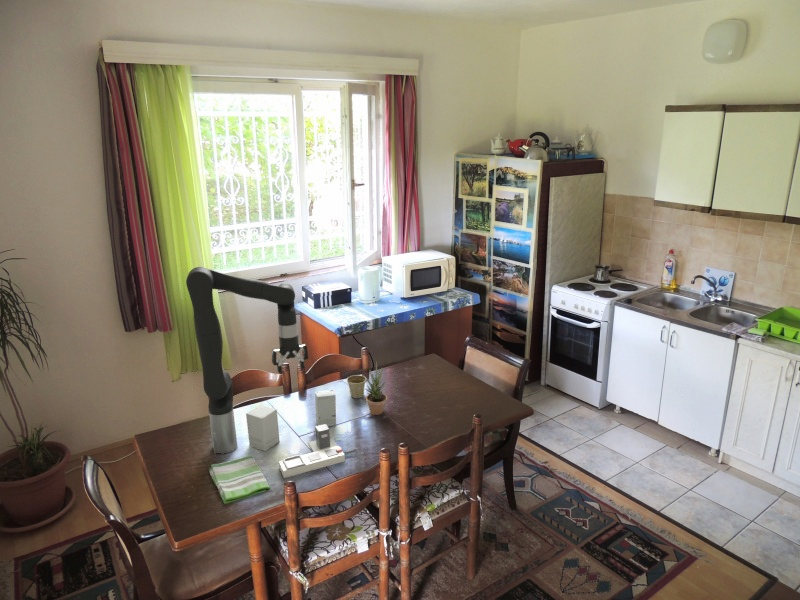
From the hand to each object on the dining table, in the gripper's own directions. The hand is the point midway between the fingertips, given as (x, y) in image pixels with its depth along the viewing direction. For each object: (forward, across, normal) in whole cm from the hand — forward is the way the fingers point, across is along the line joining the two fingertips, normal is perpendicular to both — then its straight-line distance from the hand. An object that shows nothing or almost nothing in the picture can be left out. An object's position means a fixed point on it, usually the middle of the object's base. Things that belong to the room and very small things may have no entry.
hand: (291, 371), depth 228 cm
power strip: (+30, +3, -22) cm, 38 cm away
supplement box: (+30, -13, +1) cm, 33 cm away
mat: (+30, +8, -12) cm, 33 cm away
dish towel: (+31, -27, -20) cm, 46 cm away
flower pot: (+30, +37, +24) cm, 54 cm away
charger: (+29, +8, -12) cm, 33 cm away
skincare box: (+30, +15, +5) cm, 34 cm away
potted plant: (+30, +39, +5) cm, 50 cm away
